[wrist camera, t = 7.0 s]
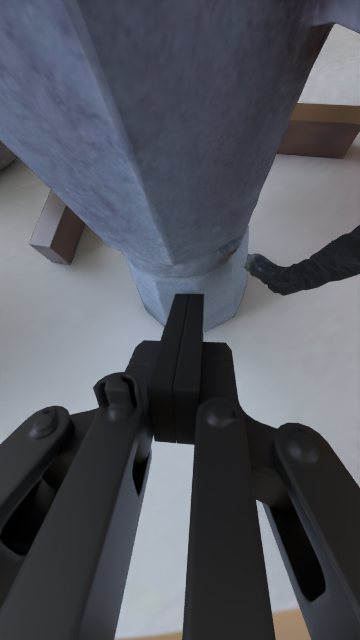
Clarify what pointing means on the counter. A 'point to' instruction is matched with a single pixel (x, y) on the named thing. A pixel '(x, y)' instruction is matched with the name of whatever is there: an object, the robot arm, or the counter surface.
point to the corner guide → (300, 139)
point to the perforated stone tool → (6, 155)
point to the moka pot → (168, 130)
